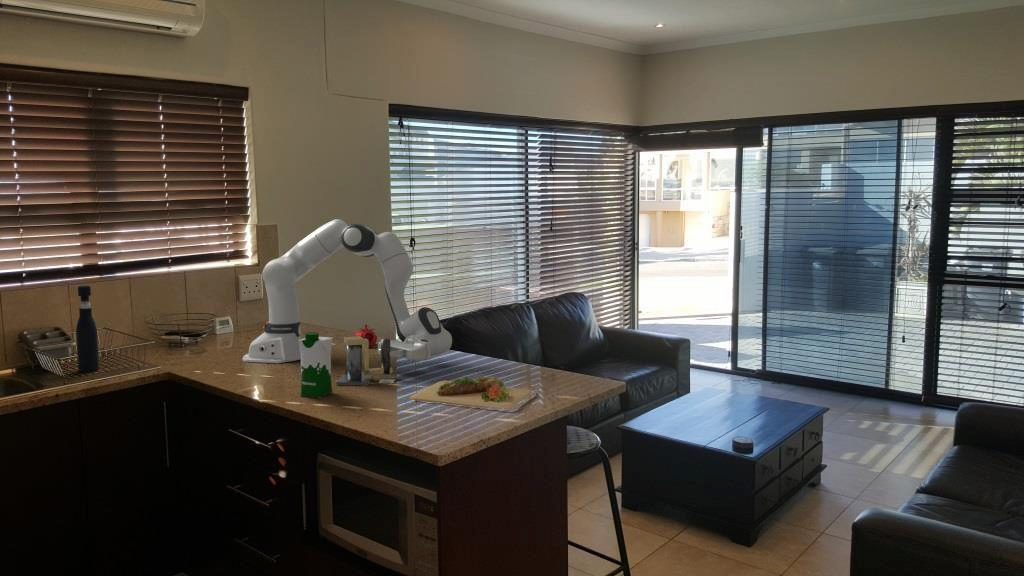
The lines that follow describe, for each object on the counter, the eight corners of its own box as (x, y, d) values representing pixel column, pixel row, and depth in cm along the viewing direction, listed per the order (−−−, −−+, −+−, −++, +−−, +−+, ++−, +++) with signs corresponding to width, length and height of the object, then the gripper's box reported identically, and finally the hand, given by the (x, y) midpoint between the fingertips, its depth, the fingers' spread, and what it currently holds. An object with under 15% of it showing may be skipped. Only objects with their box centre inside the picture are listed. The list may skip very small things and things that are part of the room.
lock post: (336, 385, 249) (336, 347, 247) (347, 372, 267) (346, 336, 265) (392, 385, 249) (392, 347, 248) (398, 372, 268) (398, 337, 266)
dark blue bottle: (103, 369, 266) (98, 286, 262) (86, 373, 260) (81, 288, 257) (91, 367, 269) (86, 284, 265) (74, 371, 263) (69, 286, 259)
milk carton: (296, 396, 235) (295, 333, 232) (313, 389, 243) (312, 329, 241) (320, 399, 232) (319, 335, 230) (336, 392, 240) (335, 330, 238)
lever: (348, 378, 250) (347, 340, 248) (344, 375, 255) (343, 337, 253) (393, 374, 257) (393, 336, 255) (389, 370, 262) (388, 334, 260)
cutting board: (538, 396, 242) (538, 373, 241) (513, 415, 220) (514, 390, 219) (440, 385, 254) (440, 363, 253) (407, 402, 232) (407, 379, 231)
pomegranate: (349, 347, 310) (348, 325, 309) (360, 343, 319) (360, 322, 318) (370, 349, 307) (370, 327, 306) (381, 345, 316) (381, 323, 315)
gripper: (396, 334, 274) (365, 340, 264) (433, 342, 261) (402, 348, 251) (396, 351, 275) (365, 357, 265) (433, 360, 262) (403, 366, 251)
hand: (384, 353), depth 258 cm, fingers open, 4 cm apart
